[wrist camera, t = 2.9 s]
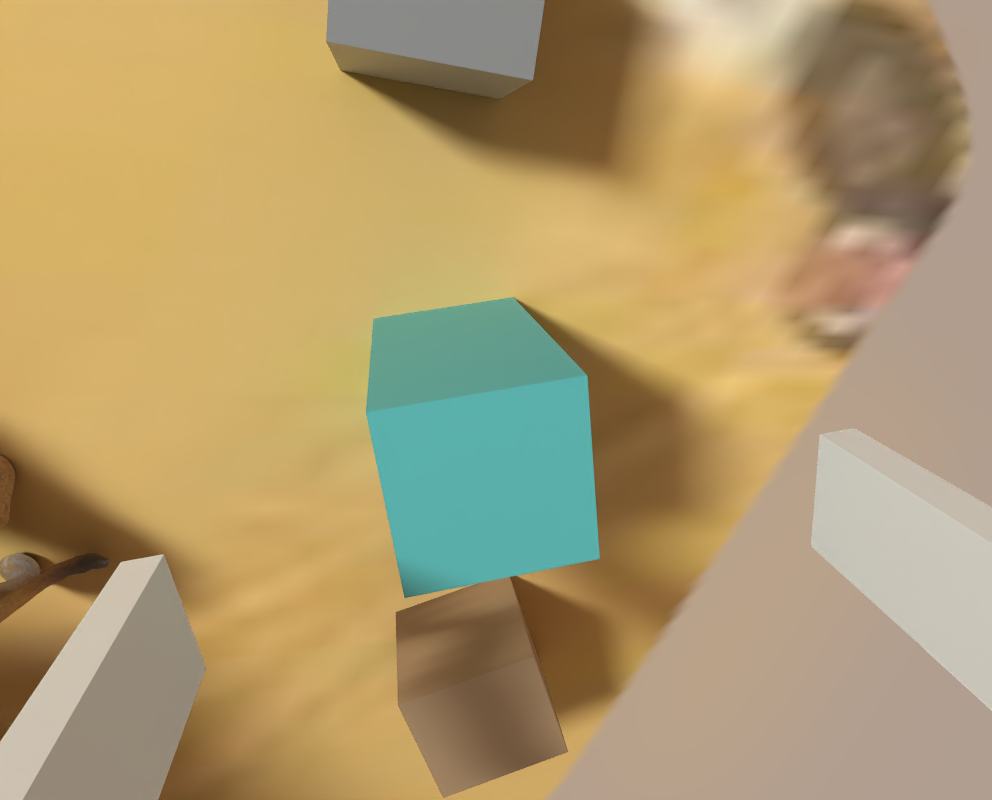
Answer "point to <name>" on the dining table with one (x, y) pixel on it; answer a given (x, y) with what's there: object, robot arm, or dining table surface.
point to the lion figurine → (30, 559)
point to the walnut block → (474, 686)
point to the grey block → (439, 42)
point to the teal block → (480, 446)
